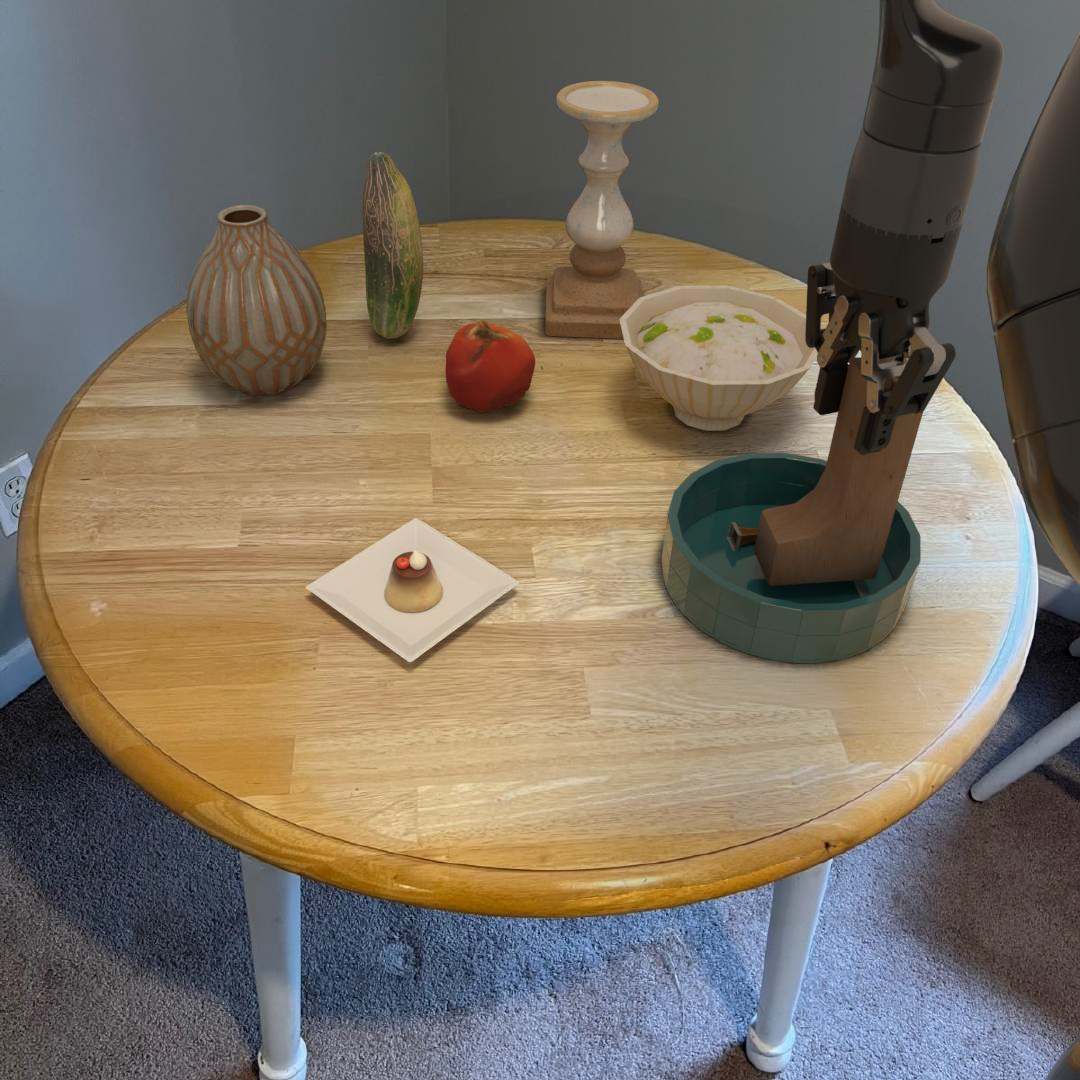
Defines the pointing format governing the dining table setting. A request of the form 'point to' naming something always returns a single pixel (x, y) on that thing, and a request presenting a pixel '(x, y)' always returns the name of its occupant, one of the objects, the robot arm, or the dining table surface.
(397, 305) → the vegetable
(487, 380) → the tomato
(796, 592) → the teal bowl
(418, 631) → the dessert
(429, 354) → the dining table surface
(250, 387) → the vase
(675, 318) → the bowl
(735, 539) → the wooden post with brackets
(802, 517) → the wooden block
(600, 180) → the candle holder
